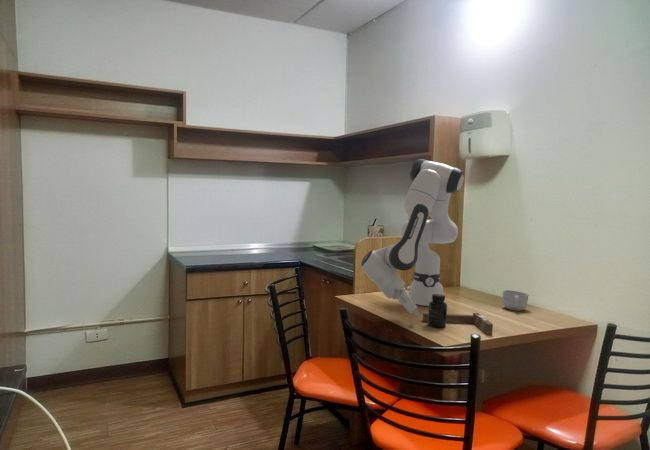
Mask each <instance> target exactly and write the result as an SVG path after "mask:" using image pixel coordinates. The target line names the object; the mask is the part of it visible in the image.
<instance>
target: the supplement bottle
mask: <svg viewBox="0 0 650 450" xmlns="http://www.w3.org/2000/svg"><path fill="white" fill-rule="evenodd" d="M444 301H446V295H444V294H443V295H442V294H432V301H431V302H430V303H429V306H428V312H427V313H428V322H427V325H428V326H429V327H431V328H437V329H444V328H446V326H447V323H446V317H447V314H448V304H447V302H446V303H445V302H444Z"/></svg>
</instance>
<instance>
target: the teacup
mask: <svg viewBox="0 0 650 450" xmlns="http://www.w3.org/2000/svg"><path fill="white" fill-rule="evenodd" d="M502 292H503V293H502V305H503V306H504V307H505V308H506V309H508V310H511V311H517V312H518V311H519V312H520V311H523V310H524V309H526V308H527V304H528V301H529V300H528V299H529V294H528V293H526V292H523V291H518V290H513V289H504V290H502Z"/></svg>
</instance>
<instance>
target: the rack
mask: <svg viewBox="0 0 650 450" xmlns="http://www.w3.org/2000/svg"><path fill="white" fill-rule="evenodd" d="M428 313H429V312H422V322H423V323H428ZM448 323H449V324H463V325H464V324H469V325H475V326H476V327H477V328H478V329H479V330H481V331H482V332H483V333H484V334H485V335H487V336H492V335H493V326H494V325H493V323H492V322H491V321H489V319H488V318H487V317H485V316H484V315H482V314H480V313H479V312H472V314H454V313H447V317H446V324H448Z"/></svg>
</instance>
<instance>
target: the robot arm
mask: <svg viewBox="0 0 650 450" xmlns="http://www.w3.org/2000/svg"><path fill="white" fill-rule="evenodd" d="M410 167H411V168H410V169H409V170H410V171H409V178H410V180H411V182H412V183H411V185H410V186H409V189H408V191H407V193H406V196H405V199H404V203H403V208H404V210H405V212H406V213H407V215H408V219H407V220H406V221H405V222H404V223H403V225H402V227H401V234H402V237H401V239H400V240H398V242H397V243H391V244H388V245H386V246H385V247H382V248H379V249H375V250H374V249H373V250H370V251H368V252H367V254H366V255H364V257H362V260H361V263H360V264H361V265H360V266H361V268H362V270H363V272H364V273H365V274H366V276H367V277H368V278H369V279H370V280H371V281H372V282H373V283H375V284H376V286H378V290H380V291H381V292H382V293H383V294H384V296H386V297H387V299H393V300H397V302H399V303H400V305H401V306H402V307H403V308H404V309H405V310H406V311H407V313H408V314H414V315H415V316H419V315H420V314H421V313H420V311H419V309H418V306H424V307H426V306H427V307H429V303H430V302H431V301H432V294H442V295H444V293H443V292H444V287H443V285H442V284H441V272H440V271H441V257H440V255H439V254H438V253H437V252H435V251H434V250H432V249H430V246H429V244H437V245H438V244H441V245H444V244H450V243H454V242H455V241H456V240H457V238H458V236H459V235H458V234H459V229H458V226H457V224H456V223H455V222H454V221H453V220H452V219H451V218H450V216H449V205H450V199H451V197H452V196H451V195H452V194H455V193H457V192H459V190H460V189H461V188H462V187H463V184H464V180H465V179H464V177H465V176H464V172H463V171H462V170H461V169H459V168H458V167H454V166H451V165H449V164H446V163H442V162H437V161H433V160H432V161H431V160H427V159H424V158H418V159H416V160H414V161H413V163H412V165H411V166H410ZM429 217H430V218H432V219H430V218H429ZM428 218H429V219H428ZM414 267H415V268H414ZM412 268H414V269H415V271H414V272H413V281H412V283H411V285H409V286H407V288H406V287H405V286H406V282H405V281H404V280H403V278H401V277H400V275H399V274H398V273H397V272H398V270H399V271H405V272H406V271H409V270H411V269H412ZM406 291H407V292H408V293H407V292H406ZM444 302H445V303H446V304H447V302H446V300H445V301H444ZM417 305H418V306H417Z"/></svg>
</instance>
